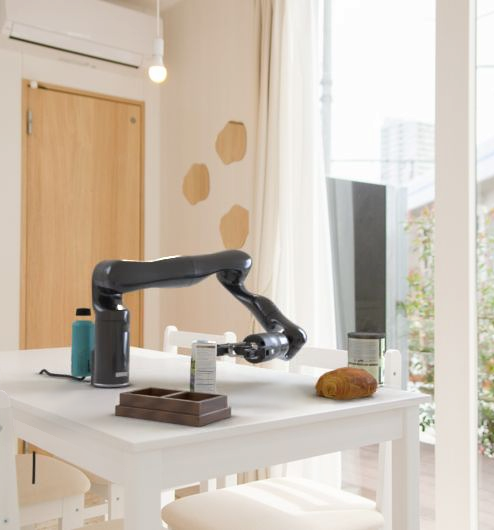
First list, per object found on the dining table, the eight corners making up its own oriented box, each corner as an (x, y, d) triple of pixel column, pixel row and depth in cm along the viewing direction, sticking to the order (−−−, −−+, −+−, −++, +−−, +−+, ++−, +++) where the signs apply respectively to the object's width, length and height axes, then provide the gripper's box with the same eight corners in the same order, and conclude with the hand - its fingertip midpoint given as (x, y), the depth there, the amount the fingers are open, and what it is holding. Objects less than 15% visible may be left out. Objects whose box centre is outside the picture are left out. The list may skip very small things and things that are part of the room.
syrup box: (189, 403, 160) (190, 339, 160) (215, 403, 160) (216, 340, 160) (189, 407, 154) (190, 342, 154) (216, 407, 154) (217, 342, 155)
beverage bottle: (88, 382, 188) (89, 308, 188) (65, 381, 189) (67, 308, 189) (98, 379, 194) (100, 307, 194) (76, 378, 195) (77, 307, 196)
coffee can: (342, 381, 196) (343, 331, 196) (378, 381, 198) (378, 331, 198) (352, 387, 186) (353, 334, 186) (389, 387, 187) (390, 334, 188)
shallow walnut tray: (114, 415, 145) (115, 393, 145) (150, 406, 155) (150, 385, 155) (199, 426, 135) (199, 403, 135) (231, 416, 145) (231, 394, 145)
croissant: (386, 405, 172) (390, 373, 173) (341, 402, 163) (346, 368, 163) (345, 395, 184) (349, 365, 184) (301, 392, 174) (305, 360, 175)
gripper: (286, 364, 178) (255, 371, 164) (237, 360, 185) (204, 366, 170) (286, 334, 178) (255, 339, 164) (238, 331, 185) (204, 336, 171)
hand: (229, 353), depth 167 cm, fingers open, 8 cm apart
